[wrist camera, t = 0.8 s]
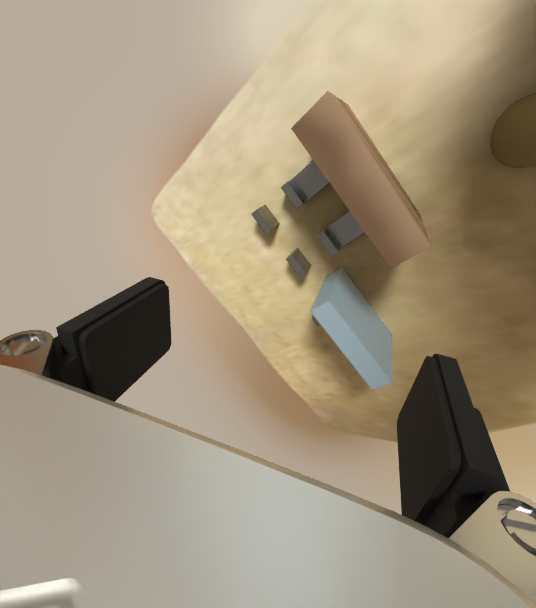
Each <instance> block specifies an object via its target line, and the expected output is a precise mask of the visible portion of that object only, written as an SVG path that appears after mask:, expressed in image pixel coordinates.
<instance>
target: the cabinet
mask: <svg viewBox="0 0 536 608" xmlns="http://www.w3.org/2000/svg"><path fill="white" fill-rule="evenodd" d="M291 129H292V130H293V132H294V133H295V134H296V136H297V137H298V139H299V140H300V141H301V143H302V144H303V146H304V147H305V149H306V150H307V151H308V153H309V154H310V156H311V157H312V159H313V160H314V161H315V163H316V164H317V166H318V167H319V168H320V170H321V171H322V173H323V174H324V176H325V177H326V178H327V180H328V181H329V183H330V184H331V185H332V187H333V188H334V190H335V191H336V193H337V194H338V195H339V197H340V198H341V200H342V201H343V202H344V204H345V205H346V207H347V208H348V210H349V211H350V212H351V214H352V215H353V217H354V218H355V220H356V221H357V222H358V224H359V225H360V227H361V228H362V229H363V231H364V232H365V234H366V235H367V237H368V238H369V239H370V241H371V242H372V244H373V245H374V246H375V248H376V249H377V251H378V252H379V254H380V255H381V256H382V258H383V259H384V261H385V262H386V263H387V265H388V266H389V268H390V269H391V268H392V267H394V266H396V265H398V264H400V263H401V262H403V261H405V260H407V259H409V258H410V257H412V256H414V255H416V254H418V253H419V252H421V251H423V250H425V249H426V248H428V247H430V246H431V245H430V242H429V240H428V237H427V234H426V231H425V228H424V225H423V222H422V219H421V216H420V214H419V212H418V211H417V209H416V208H415V206H414V205H413V203H412V201H411V200H410V198H409V197H408V195H407V194H406V192H405V191H404V189H403V188H402V186H401V185H400V183H399V182H398V180H397V179H396V177H395V176H394V174H393V173H392V171H391V170H390V168H389V167H388V165H387V163H386V162H385V160H384V159H383V157H382V156H381V154H380V153H379V151H378V150H377V148H376V147H375V145H374V144H373V142H372V141H371V139H370V138H369V136H368V135H367V133H366V132H365V130H364V129H363V127H362V125H361V124H360V122H359V121H358V119H357V118H356V116H355V115H354V113H353V112H352V110H351V109H350V107H349V106H348V104H346V103H345V102H343V101H342V100H340V99H339V98H337V97H336V96H334V95H333V94H331V93H330V92H328V91H327V92H326V93H325V94H324V95H323V96H322V97H321V98H320V99H319V100H318V101H317V102H316V103H315V104H314V105H313V107H312V108H311V109H310V110H309V111H308V112H307V113H306V114H305V115H304V116H303V117H302V118H301V119H300V120H299V121H298V122H297V123H296V124H295V125H294V126H293V127H292V128H291Z"/></svg>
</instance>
